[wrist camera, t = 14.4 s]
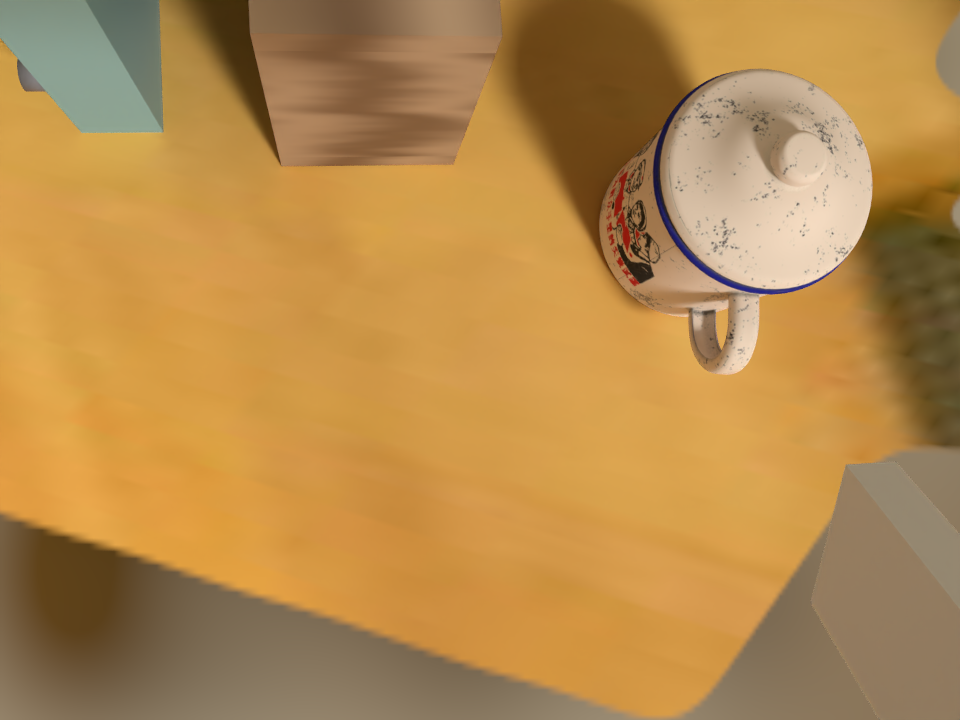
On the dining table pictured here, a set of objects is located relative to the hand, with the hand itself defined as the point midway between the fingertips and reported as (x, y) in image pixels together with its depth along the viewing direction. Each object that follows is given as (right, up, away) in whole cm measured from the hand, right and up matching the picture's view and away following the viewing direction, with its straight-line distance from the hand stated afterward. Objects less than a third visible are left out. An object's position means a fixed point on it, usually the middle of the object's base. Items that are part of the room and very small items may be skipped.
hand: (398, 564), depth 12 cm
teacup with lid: (+11, +8, +30) cm, 33 cm away
